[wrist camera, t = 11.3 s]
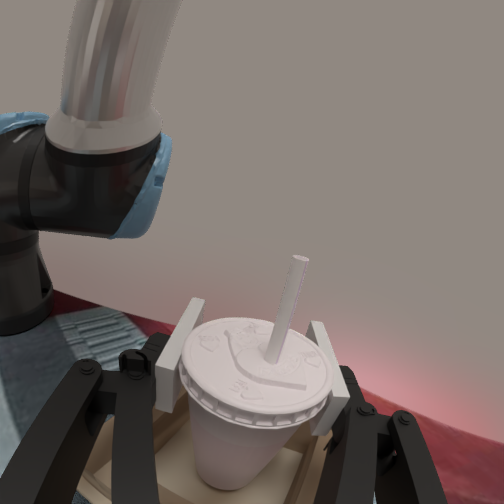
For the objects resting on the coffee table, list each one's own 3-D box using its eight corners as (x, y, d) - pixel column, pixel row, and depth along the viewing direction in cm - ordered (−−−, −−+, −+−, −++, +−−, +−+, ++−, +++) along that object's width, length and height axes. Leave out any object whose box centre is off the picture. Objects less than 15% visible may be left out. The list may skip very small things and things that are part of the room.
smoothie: (216, 524, 9) (305, 312, 5) (154, 449, 13) (161, 225, 9) (295, 474, 13) (400, 277, 9) (233, 418, 17) (281, 229, 14)
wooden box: (66, 480, 9) (39, 440, 8) (180, 384, 23) (184, 339, 22) (291, 596, 4) (332, 594, 3) (342, 448, 18) (370, 408, 17)
